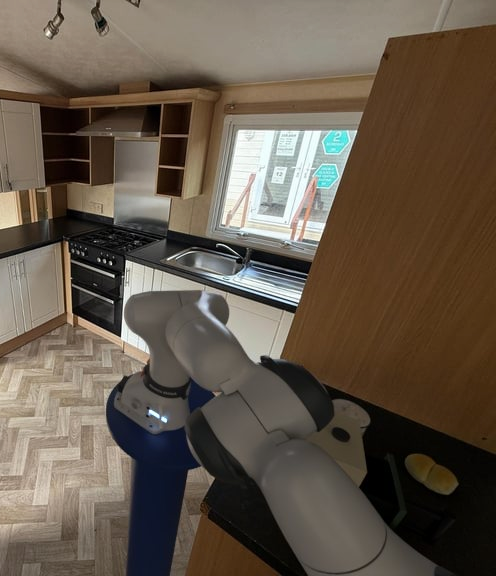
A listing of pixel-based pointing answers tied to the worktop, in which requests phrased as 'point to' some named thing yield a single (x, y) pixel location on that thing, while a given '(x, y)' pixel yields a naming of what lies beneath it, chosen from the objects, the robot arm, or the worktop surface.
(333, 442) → the cube with dark spot
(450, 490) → the bread roll
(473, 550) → the worktop surface
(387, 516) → the door with handle
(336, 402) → the enamel mug with lid
